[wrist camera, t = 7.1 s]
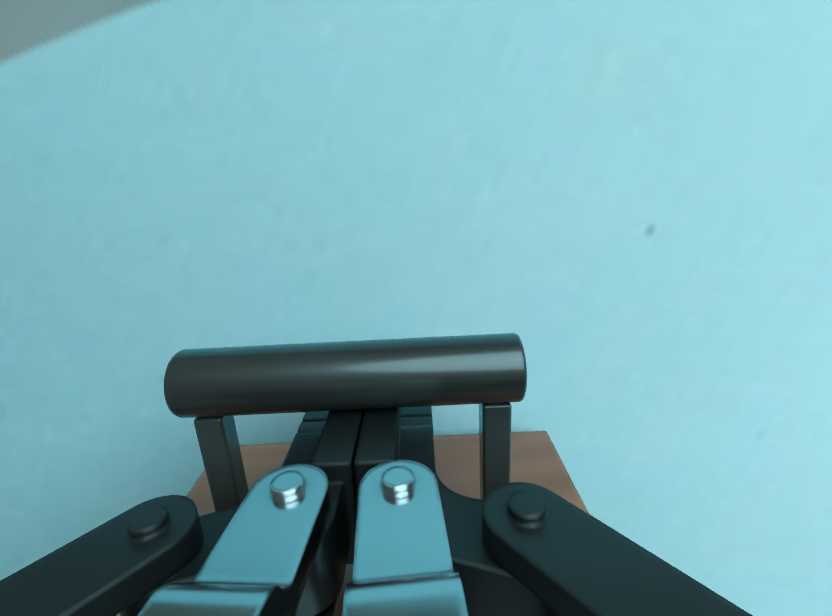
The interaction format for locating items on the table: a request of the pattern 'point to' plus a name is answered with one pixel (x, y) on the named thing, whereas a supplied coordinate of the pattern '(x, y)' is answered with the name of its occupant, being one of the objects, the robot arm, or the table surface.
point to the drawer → (362, 407)
